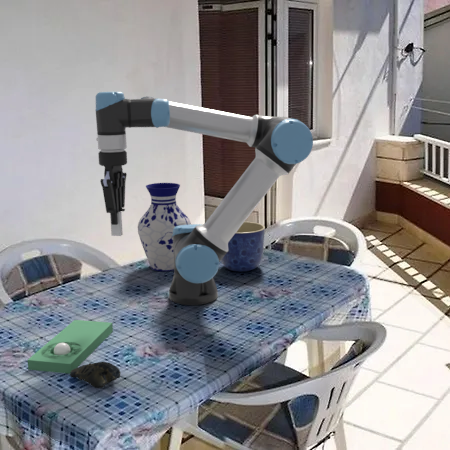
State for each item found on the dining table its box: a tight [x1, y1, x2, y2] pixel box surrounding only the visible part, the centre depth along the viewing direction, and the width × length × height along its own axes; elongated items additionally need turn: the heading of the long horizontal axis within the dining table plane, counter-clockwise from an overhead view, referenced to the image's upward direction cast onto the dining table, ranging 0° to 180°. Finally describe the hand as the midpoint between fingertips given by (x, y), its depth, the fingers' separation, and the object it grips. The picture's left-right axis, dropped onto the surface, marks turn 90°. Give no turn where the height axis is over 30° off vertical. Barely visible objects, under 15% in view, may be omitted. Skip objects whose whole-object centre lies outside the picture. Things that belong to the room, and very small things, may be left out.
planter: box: [220, 221, 266, 272], centre depth 219 cm, size 17×17×15 cm
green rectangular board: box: [27, 319, 114, 375], centre depth 156 cm, size 25×11×2 cm, turn 168°
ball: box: [54, 343, 71, 355], centre depth 150 cm, size 4×4×4 cm
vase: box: [137, 182, 191, 273], centre depth 219 cm, size 19×19×30 cm
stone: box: [69, 361, 122, 389], centre depth 139 cm, size 7×13×5 cm, turn 64°
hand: (117, 235), depth 171 cm, fingers closed
